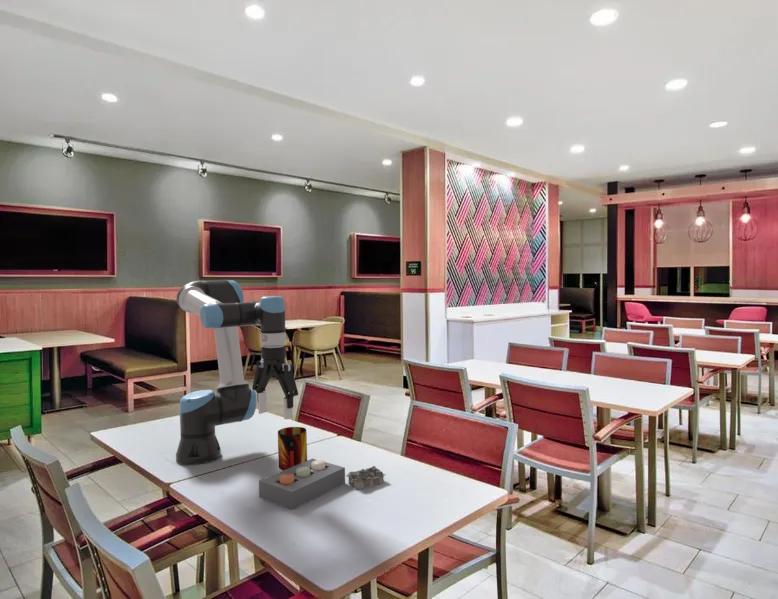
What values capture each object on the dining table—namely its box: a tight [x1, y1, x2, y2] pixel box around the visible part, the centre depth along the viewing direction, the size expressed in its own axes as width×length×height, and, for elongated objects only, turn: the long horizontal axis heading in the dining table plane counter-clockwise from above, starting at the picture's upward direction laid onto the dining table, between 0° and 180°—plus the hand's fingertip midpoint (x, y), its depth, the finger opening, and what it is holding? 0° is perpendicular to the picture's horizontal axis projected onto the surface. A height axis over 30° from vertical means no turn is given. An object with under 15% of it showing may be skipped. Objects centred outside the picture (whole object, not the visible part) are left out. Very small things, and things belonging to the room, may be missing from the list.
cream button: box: [311, 459, 326, 471], centre depth 163 cm, size 4×4×3 cm
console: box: [258, 458, 346, 511], centre depth 158 cm, size 14×22×5 cm, turn 144°
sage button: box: [296, 466, 310, 478], centre depth 158 cm, size 4×4×3 cm
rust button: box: [279, 473, 294, 486], centre depth 152 cm, size 4×4×3 cm
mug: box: [277, 426, 308, 471], centre depth 177 cm, size 10×14×12 cm
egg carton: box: [346, 465, 386, 490], centre depth 163 cm, size 11×8×4 cm
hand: (275, 415), depth 164 cm, fingers open, 11 cm apart
